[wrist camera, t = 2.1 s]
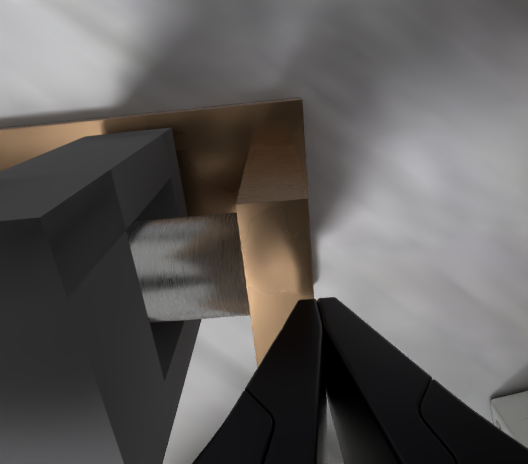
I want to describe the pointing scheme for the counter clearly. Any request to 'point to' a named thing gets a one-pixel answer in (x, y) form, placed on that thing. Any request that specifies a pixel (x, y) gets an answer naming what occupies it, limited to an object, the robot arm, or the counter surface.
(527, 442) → the skincare box
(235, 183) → the pipe rig
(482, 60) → the counter surface
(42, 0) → the counter surface
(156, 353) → the collar
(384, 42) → the counter surface
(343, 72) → the counter surface
